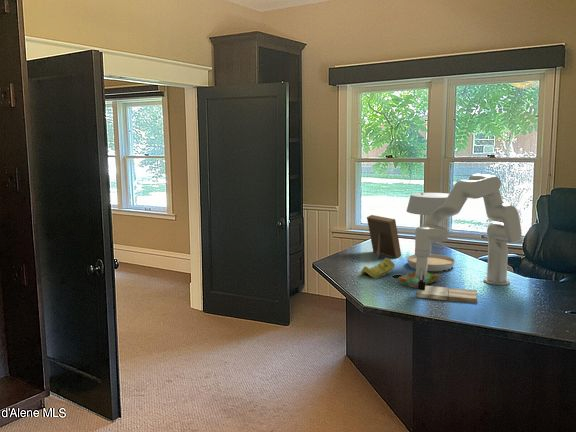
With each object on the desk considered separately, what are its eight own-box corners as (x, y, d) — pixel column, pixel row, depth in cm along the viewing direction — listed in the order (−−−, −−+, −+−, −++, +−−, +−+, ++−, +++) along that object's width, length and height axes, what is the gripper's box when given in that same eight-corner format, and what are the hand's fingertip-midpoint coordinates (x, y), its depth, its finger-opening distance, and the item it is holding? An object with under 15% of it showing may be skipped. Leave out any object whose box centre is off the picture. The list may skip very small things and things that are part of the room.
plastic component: (376, 275, 280) (363, 264, 286) (372, 285, 284) (358, 275, 289) (398, 266, 293) (384, 256, 299) (393, 276, 297) (380, 266, 303)
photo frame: (378, 251, 347) (378, 214, 343) (401, 257, 329) (401, 218, 325) (360, 254, 340) (360, 216, 336) (383, 260, 322) (383, 220, 317)
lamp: (449, 274, 288) (452, 197, 281) (398, 268, 302) (400, 194, 296) (461, 263, 313) (464, 192, 306) (413, 258, 327) (415, 189, 320)
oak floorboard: (449, 291, 257) (449, 288, 256) (476, 294, 253) (476, 290, 252) (448, 300, 244) (448, 296, 243) (477, 303, 239) (477, 298, 239)
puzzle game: (398, 275, 270) (420, 269, 283) (397, 284, 271) (420, 277, 284) (417, 280, 262) (439, 273, 275) (416, 289, 262) (439, 281, 275)
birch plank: (448, 291, 257) (448, 287, 256) (447, 300, 244) (447, 296, 243) (419, 288, 261) (419, 284, 261) (416, 297, 248) (416, 293, 248)
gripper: (416, 248, 259) (415, 284, 262) (413, 255, 245) (412, 293, 248) (432, 250, 257) (430, 286, 259) (429, 256, 243) (428, 294, 245)
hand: (421, 289), depth 254 cm, fingers closed
